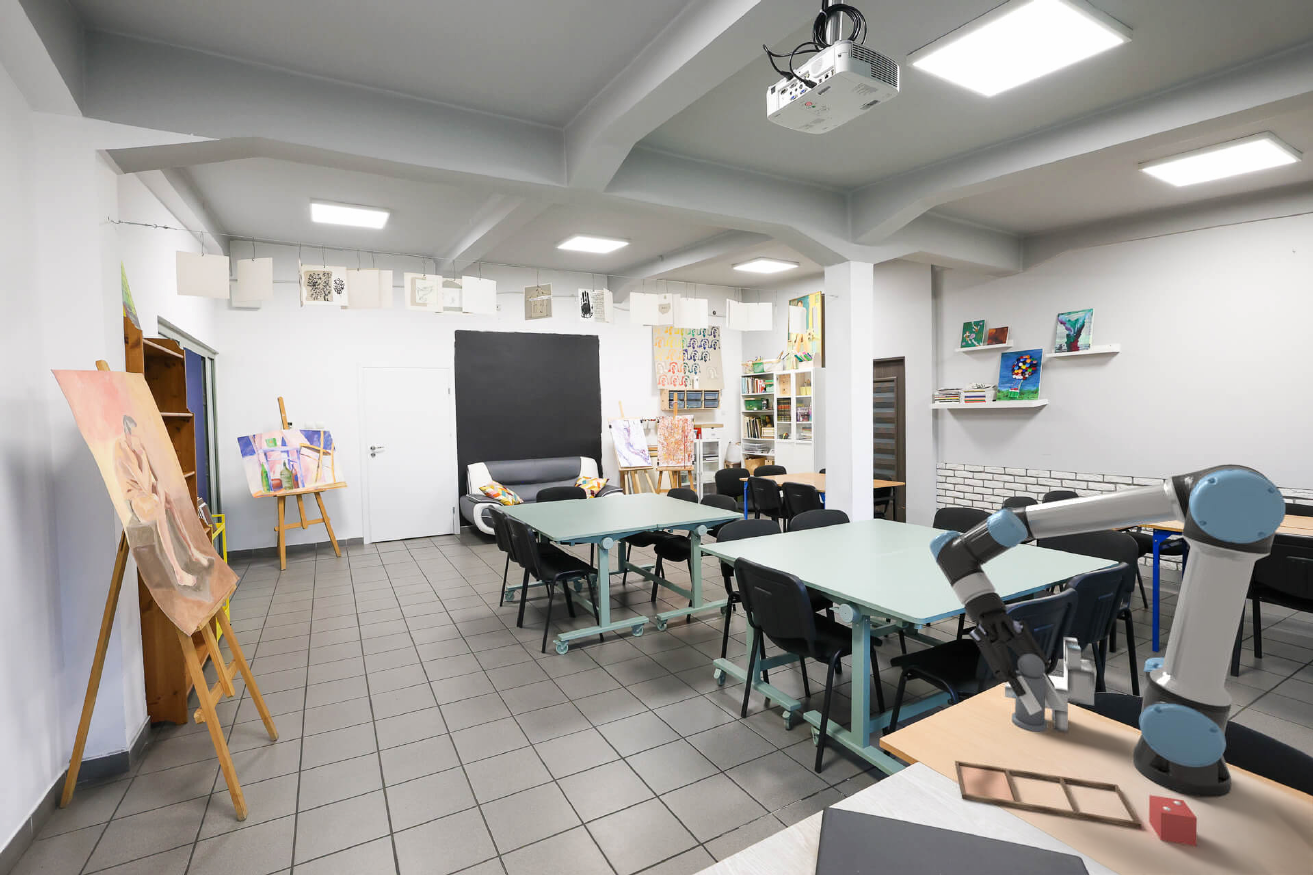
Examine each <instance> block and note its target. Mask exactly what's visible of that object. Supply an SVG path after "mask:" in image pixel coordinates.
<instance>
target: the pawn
mask: <svg viewBox="0 0 1313 875" xmlns="http://www.w3.org/2000/svg"><path fill="white" fill-rule="evenodd" d="M1017 668H1018V669H1017V670H1016V673H1017V676H1016V677H1018V676H1022V677H1023V678H1024V680H1025V682H1026V683H1027V685H1028V687H1029V688H1030V690H1031V692H1032V693H1033V695H1034V697H1035V698H1036V700H1037V702H1038V703H1039V705H1040V707H1041V708H1042V710H1041V711H1039V712H1037V713H1035V714H1033V715H1030V714H1029V712H1028V711H1027V709H1026V707H1025V706H1024V704H1023V702H1022V701H1021V699H1020V697H1018V696H1017V695H1016V699H1015V700H1014V702H1015V703H1014V706H1015V707H1014V712H1013V713H1012V714H1011V722H1012V723H1013V724H1014V725H1015V726H1016V727H1018V728H1019V729H1022V730H1024V731H1028V732H1031V733H1032V732H1033V733H1043V732H1046V731H1048V726H1049V725H1048V721H1047V719H1046V716H1045V714H1046V708H1045V691H1046V677H1045V676H1044V675H1043V674H1044V671H1045V665H1044V663H1043V661H1042V660H1041V659H1040V658H1039V657H1038V656H1036V655H1034V654H1024V655H1022V656H1021V657H1019V658H1018V660H1017Z"/></svg>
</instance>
